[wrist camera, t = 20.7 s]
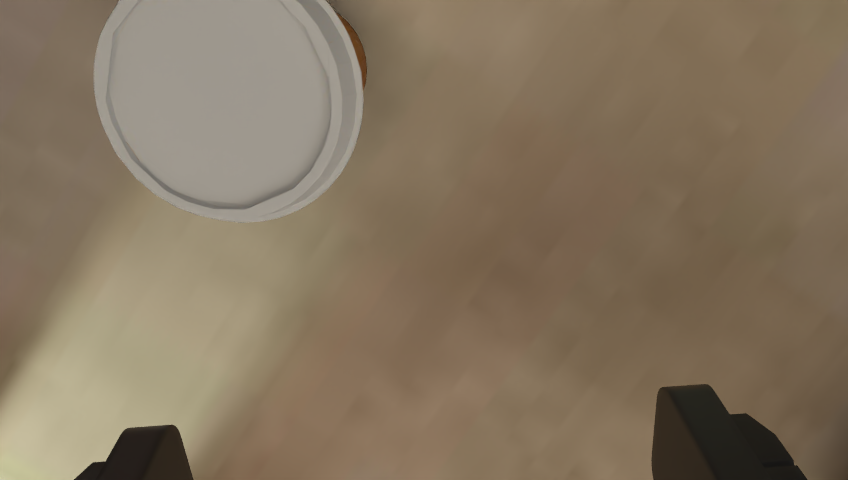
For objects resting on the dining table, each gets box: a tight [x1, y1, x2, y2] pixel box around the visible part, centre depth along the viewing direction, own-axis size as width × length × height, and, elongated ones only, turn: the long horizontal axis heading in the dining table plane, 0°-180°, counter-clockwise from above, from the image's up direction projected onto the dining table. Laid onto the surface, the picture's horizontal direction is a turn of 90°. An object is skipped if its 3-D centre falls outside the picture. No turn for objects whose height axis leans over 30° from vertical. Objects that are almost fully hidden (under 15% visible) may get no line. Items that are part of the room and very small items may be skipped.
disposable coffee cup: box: [94, 0, 367, 223], centre depth 28 cm, size 10×10×12 cm
